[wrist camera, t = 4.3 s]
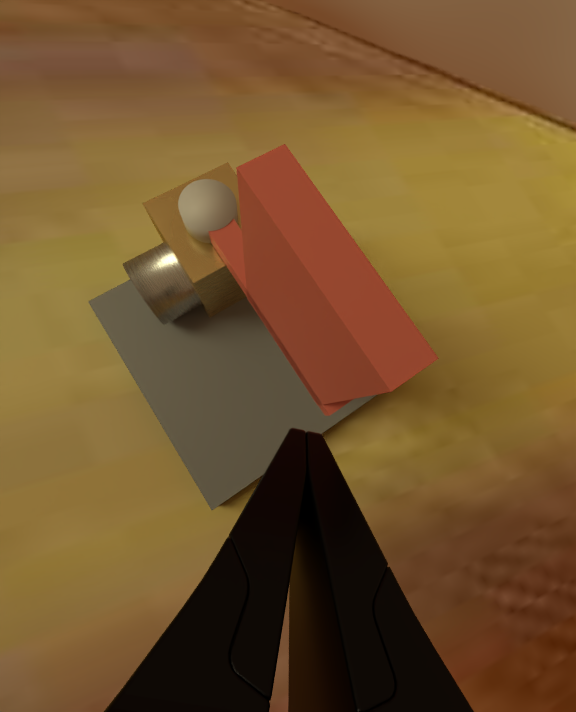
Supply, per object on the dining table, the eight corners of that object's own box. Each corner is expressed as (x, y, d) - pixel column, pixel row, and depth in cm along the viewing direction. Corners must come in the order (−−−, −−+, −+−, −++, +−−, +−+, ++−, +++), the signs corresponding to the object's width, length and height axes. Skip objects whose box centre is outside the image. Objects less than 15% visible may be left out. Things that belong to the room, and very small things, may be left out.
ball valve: (304, 263, 20) (319, 214, 15) (174, 338, 18) (144, 309, 13) (266, 208, 20) (268, 142, 16) (136, 276, 19) (94, 226, 14)
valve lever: (173, 210, 14) (87, -3, 7) (220, 188, 15) (184, -36, 7) (312, 423, 13) (381, 432, 6) (358, 392, 14) (476, 363, 6)
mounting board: (382, 388, 20) (389, 386, 19) (214, 505, 18) (211, 510, 17) (265, 217, 21) (266, 208, 20) (96, 307, 19) (88, 301, 18)
